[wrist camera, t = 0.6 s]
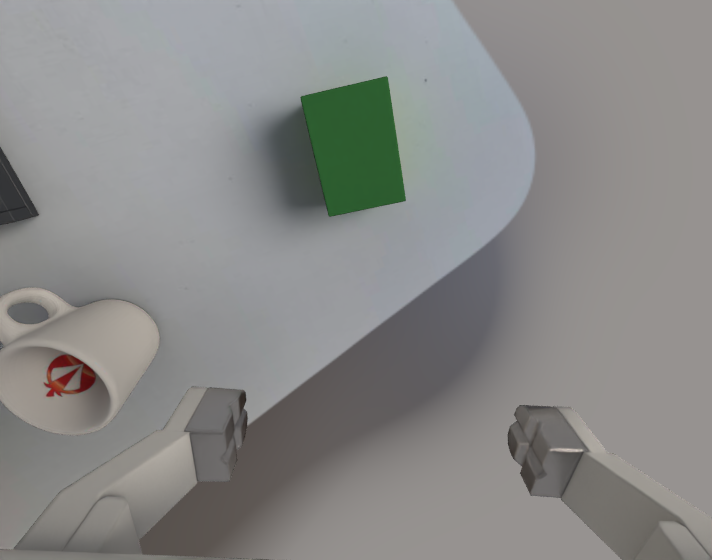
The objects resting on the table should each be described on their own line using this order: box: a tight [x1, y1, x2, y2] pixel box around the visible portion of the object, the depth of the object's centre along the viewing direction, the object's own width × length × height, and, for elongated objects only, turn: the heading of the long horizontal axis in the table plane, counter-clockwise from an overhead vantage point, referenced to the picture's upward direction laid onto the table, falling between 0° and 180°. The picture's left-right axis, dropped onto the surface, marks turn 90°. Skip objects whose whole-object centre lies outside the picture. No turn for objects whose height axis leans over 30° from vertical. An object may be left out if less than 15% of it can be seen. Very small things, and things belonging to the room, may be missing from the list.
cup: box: [0, 287, 160, 435], centre depth 26 cm, size 11×8×8 cm
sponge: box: [300, 76, 406, 217], centre depth 23 cm, size 7×5×4 cm
